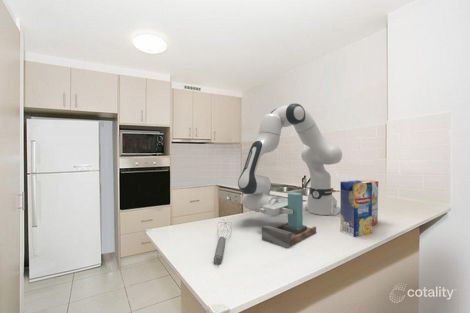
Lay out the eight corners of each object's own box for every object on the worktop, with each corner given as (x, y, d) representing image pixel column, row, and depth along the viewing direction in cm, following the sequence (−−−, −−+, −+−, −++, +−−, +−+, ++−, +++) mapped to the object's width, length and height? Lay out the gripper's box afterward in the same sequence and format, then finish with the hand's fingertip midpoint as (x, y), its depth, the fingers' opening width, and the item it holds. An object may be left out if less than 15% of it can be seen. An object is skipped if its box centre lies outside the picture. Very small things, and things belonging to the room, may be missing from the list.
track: (291, 226, 106) (291, 215, 106) (316, 232, 97) (316, 221, 97) (261, 239, 90) (261, 227, 90) (287, 248, 81) (287, 234, 81)
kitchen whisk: (206, 268, 68) (206, 247, 68) (218, 230, 101) (218, 217, 101) (227, 268, 68) (227, 248, 68) (232, 231, 101) (232, 217, 101)
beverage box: (372, 233, 96) (372, 182, 96) (354, 237, 92) (354, 183, 92) (357, 228, 103) (357, 180, 102) (340, 231, 98) (340, 181, 98)
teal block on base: (292, 225, 101) (292, 191, 101) (306, 229, 96) (306, 193, 96) (283, 229, 96) (283, 193, 96) (298, 233, 91) (298, 195, 91)
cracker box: (367, 229, 101) (367, 183, 101) (353, 226, 106) (353, 181, 105) (378, 223, 110) (379, 180, 110) (365, 220, 114) (365, 179, 114)
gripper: (256, 202, 98) (283, 207, 88) (282, 195, 112) (308, 199, 103) (256, 216, 98) (283, 223, 88) (282, 208, 113) (308, 213, 103)
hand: (297, 210), depth 96 cm, fingers closed on teal block on base, 4 cm apart
